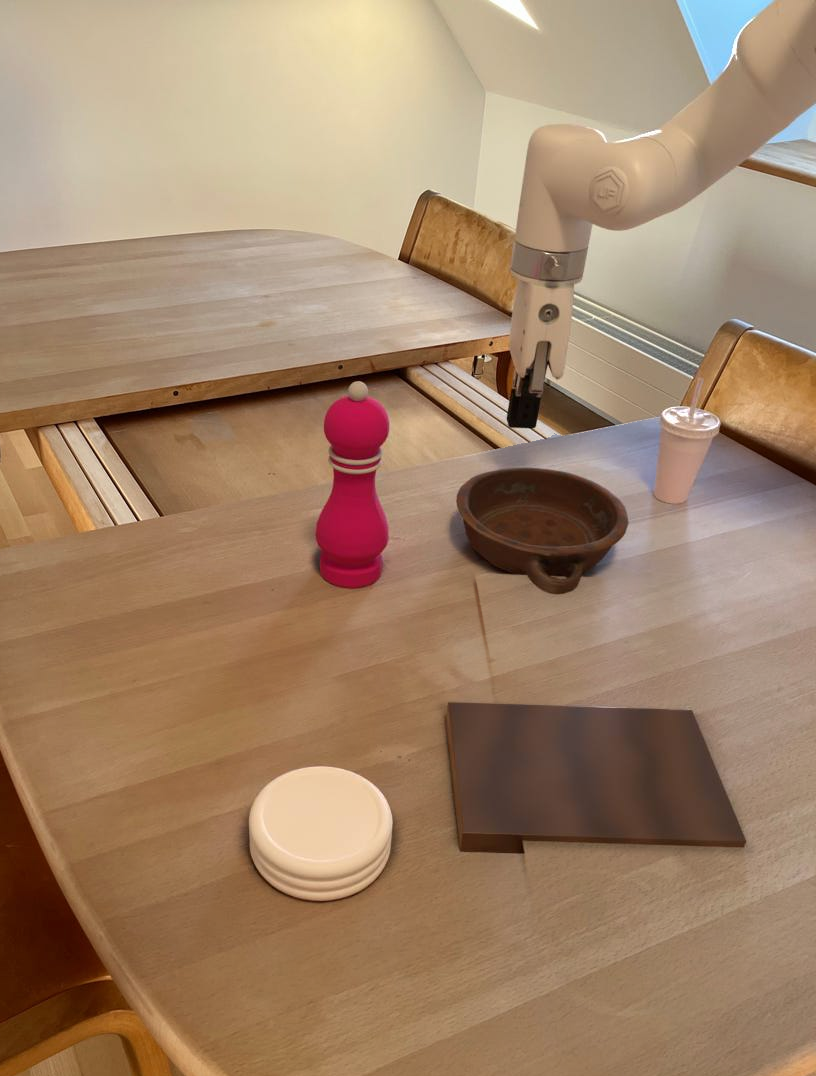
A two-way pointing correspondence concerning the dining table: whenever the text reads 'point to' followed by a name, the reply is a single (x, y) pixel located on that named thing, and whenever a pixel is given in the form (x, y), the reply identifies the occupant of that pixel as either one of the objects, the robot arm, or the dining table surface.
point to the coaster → (320, 833)
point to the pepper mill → (353, 491)
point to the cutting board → (584, 777)
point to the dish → (541, 523)
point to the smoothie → (683, 448)
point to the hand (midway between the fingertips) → (520, 424)
